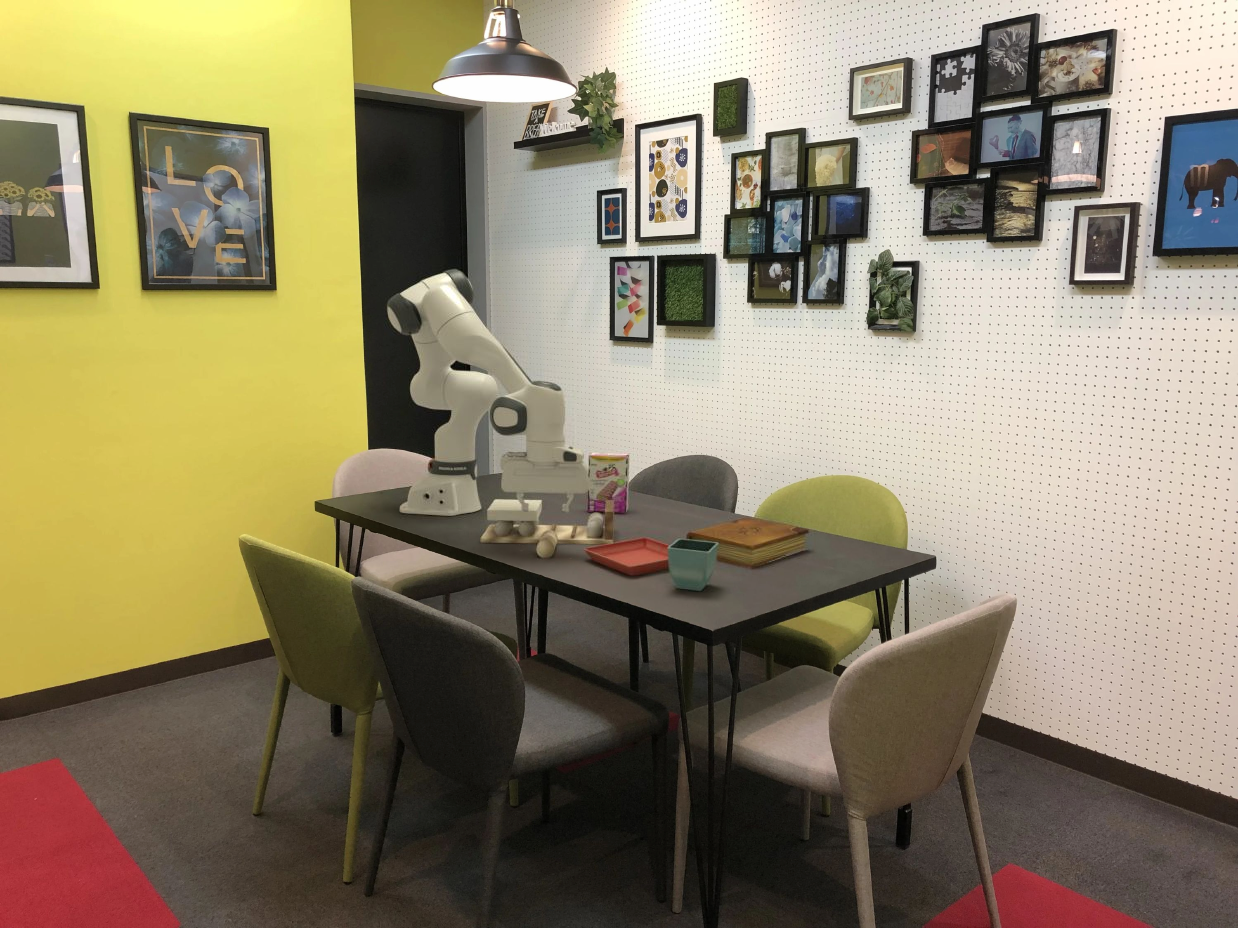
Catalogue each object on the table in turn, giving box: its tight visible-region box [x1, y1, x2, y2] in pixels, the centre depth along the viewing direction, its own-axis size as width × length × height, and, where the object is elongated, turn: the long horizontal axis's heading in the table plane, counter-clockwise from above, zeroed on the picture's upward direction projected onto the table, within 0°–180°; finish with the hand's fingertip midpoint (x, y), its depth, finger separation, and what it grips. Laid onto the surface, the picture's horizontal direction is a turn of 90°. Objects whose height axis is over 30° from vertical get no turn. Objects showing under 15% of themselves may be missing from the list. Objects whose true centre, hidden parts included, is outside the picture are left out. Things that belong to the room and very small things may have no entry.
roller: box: [536, 530, 558, 559], centre depth 217 cm, size 4×11×4 cm, turn 179°
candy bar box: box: [587, 452, 630, 514], centre depth 261 cm, size 11×5×16 cm, turn 84°
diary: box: [685, 517, 810, 569], centre depth 220 cm, size 23×19×6 cm
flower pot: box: [667, 538, 719, 592], centre depth 190 cm, size 9×9×9 cm
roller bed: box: [480, 500, 615, 545], centre depth 232 cm, size 32×15×8 cm, turn 89°
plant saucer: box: [583, 537, 671, 576], centre depth 208 cm, size 18×18×3 cm
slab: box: [486, 499, 543, 522], centre depth 232 cm, size 12×13×2 cm
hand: (545, 511), depth 216 cm, fingers open, 8 cm apart
